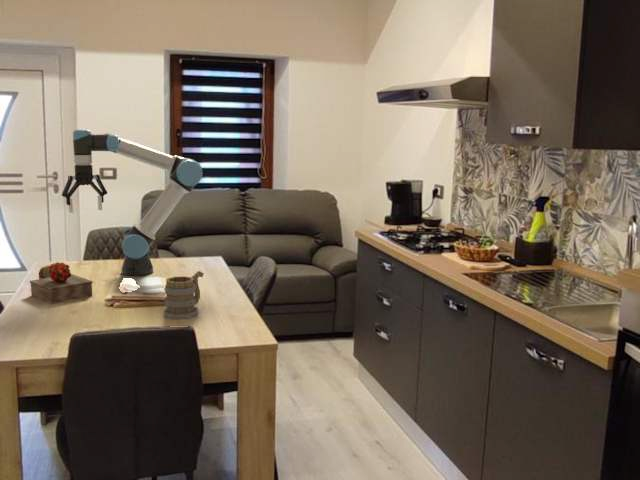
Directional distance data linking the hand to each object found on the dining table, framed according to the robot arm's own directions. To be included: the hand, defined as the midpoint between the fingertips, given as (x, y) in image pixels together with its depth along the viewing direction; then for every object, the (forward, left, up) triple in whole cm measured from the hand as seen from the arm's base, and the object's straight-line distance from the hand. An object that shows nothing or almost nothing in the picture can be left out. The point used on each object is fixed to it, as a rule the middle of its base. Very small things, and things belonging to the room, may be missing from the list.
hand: (85, 211), depth 298 cm
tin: (+15, -7, -33) cm, 37 cm away
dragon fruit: (+20, +19, -26) cm, 38 cm away
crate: (+19, +19, -33) cm, 43 cm away
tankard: (-10, +73, -33) cm, 81 cm away
